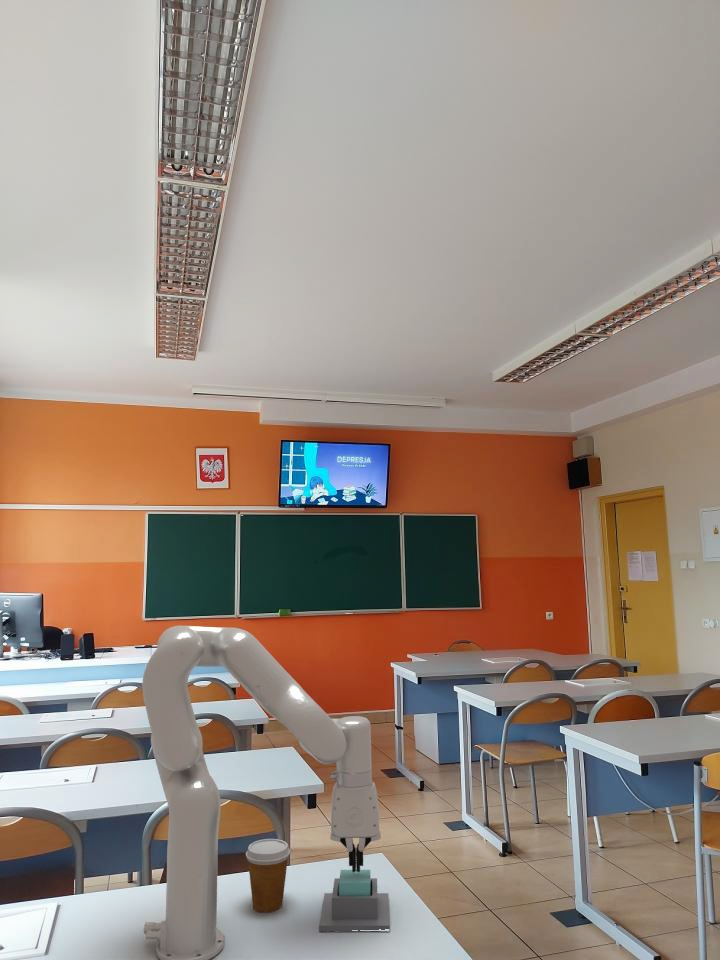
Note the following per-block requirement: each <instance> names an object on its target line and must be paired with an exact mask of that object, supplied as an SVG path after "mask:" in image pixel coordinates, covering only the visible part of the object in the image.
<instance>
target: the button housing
mask: <svg viewBox="0 0 720 960" xmlns="http://www.w3.org/2000/svg"><path fill="white" fill-rule="evenodd" d="M339 879H340V877H339V878H338V877H337V878H336V877H335V878H334V881H333V887H332V893H331V892H330V893H329V892H327V893H326V892H325V893H324V892H323V893H324V894H323V899H322V906H321V910H320V911H321V912H320V918H319V924H318V932H319V933H322V932H321V931H326V932H325V933H329V932H328V931H352V930H358V931H360V930H379V929H381V930H385V929H391V928H390V927H391V926H390V904H389V903H390V902H389V900H390V899H389V893H387V892H386V893H385V892H378V878H374V877H373V878H372V877H371V896H339Z"/></svg>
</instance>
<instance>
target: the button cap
mask: <svg viewBox="0 0 720 960" xmlns="http://www.w3.org/2000/svg"><path fill="white" fill-rule="evenodd" d="M339 878H340V879H339V896H371V878H372V877H371V869H360V872H357V871H355V872H352V869H340V872H339Z"/></svg>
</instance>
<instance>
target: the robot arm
mask: <svg viewBox="0 0 720 960" xmlns="http://www.w3.org/2000/svg"><path fill="white" fill-rule="evenodd" d="M196 667H205V668H206V667H208V668H209V667H214V668H217V667H218V668H219V667H220V668H221V667H222V668H223V667H224V668H225V670H226V671H227V672H228V673H229V675H231V676H232V677H233V678H234V679H235V681H236V682H238V683H239V684H240V686H241V687H242V688H243V689H244V690H245V691H246V692H247V693H248V695H250V696H251V697H252V699H254V700H255V701H256V703H257V704H258V705H259V707H261V708H262V709H263V710H264V711H265V712H266V713H267V714H269V716H271V717H273V718H274V719H275V720H277V721H278V722H279V723H280V724H282V725H283V726H284V727H285V728H286V729H287V730H288V731H289V732H290V733H291V734H292V736H293V735H294V737H295V738H296V739H297V741H298V743H299V745H300V747H301V749H303V751H305V752H306V753H307V754H308V755H310V756H311V757H313V758H314V759H315V760H316V761H317V762H319V763H320V764H322V765H332V764H333V765H334V764H336V770H334V771H333V772H330V773H329V779H330V780H334V781H335V783H334V785H333V788H332V792H331V793H332V794H331V802H330V808H331V809H330V832H331V833H330V840H331V841H333V842H337V843H341V845H342V846H344V847H345V848H346V850H347V852H348V866H349V867H351V868H352V869H351V870H352V872H355V871H357V872H360V870H361V867H364V851H365V849H366V848H367V846H368V845H369V844H370V843H372V842H376V841H379V840H381V837H382V834H381V830H380V812H379V811H380V810H379V797H378V791H377V790H378V789H377V787H376V783H375V782H374V781H373V774H372V773H373V772H372V771H373V768H372V767H373V766H372V765H373V764H372V727H371V721H370V720H369V719H368V718H367V717H365V716H361V715H348V716H344V717H340V718H331V717H330V716H329V715H328V713H327V712H325V711H324V709H323V708H322V707H321V706H320V705H319V704H318V703H317V702H316V701H315V700H314V699H313V698H312V696H310V695H309V694H308V693H307V691H305V690H304V689H303V687H302V686H301V685H300V684H299V683H298V682H297V681H296V680H295V679H294V678H293V677H292V675H291V674H290V673H289V672H287V671H286V670H285V668H284V667H283V666H282V665H281V664H280V662H278V661H277V660H276V659H275V657H273V655H272V654H271V653H270V652H269V651H268V650H267V648H265V646H264V645H263V644H262V643H261V642H260V641H259V639H257V638H256V636H254V635H253V634H252V633H251V632H249V631H247V630H246V629H242V628H238V627H225V626H224V627H220V626H219V627H215V626H197V625H196V626H194V625H174V626H171V627H168V628H167V629H165V630H164V631H163V633H162V634H161V635H160V636H159V638H158V641H157V646H156V649H155V651H153V653H152V655H151V656H150V658H149V660H148V661H147V665H146V666H145V670H144V671H143V676H142V683H141V684H142V685H141V686H142V687H141V688H142V695H143V703H144V707H145V711H146V715H147V719H148V724H149V727H150V732H151V734H150V744H151V749H152V753H153V757H154V760H155V765H156V767H157V771H158V775H159V780H160V781H161V786H162V789H163V792H164V796H165V799H166V802H167V803H166V804H167V806H168V834H167V837H168V838H167V851H166V852H167V853H166V892H165V894H166V895H165V897H166V899H165V901H166V902H165V920H161V921H160V922H156V921H155V922H154V921H153V922H145V923H144V925H143V926H144V927H143V934H144V935H145V940H157V943H156V946H155V947H156V948H155V950H156V951H155V953H156V956H157V958H158V959H159V960H211V959H212V958H214V957H215V956H217V955H218V954H220V952H221V951H222V950H223V948H224V946H225V935H224V932H222V930H220V929H219V928H217V920H218V919H217V915H218V913H217V912H218V911H217V909H218V905H217V903H218V864H219V863H218V848H219V846H218V844H219V826H220V820H221V819H220V817H221V809H222V808H221V805H222V803H221V796H220V795H221V794H220V791H219V788H218V786H217V784H216V782H215V780H214V778H213V777H212V776H211V775H210V772H209V769H208V766H207V762H206V759H205V754H204V752H203V745H204V743H203V735H202V731H201V730H200V727H199V725H198V723H197V720H196V719H197V718H196V715H195V712H194V709H193V706H192V701H191V696H190V692H189V688H188V686H189V685H188V682H189V678H190V675H191V673H192V671H193V670H194V669H195V668H196ZM356 838H357V839H358V844H357V845H355V844H354V840H353V839H356ZM356 846H357V847H356Z"/></svg>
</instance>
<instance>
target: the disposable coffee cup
mask: <svg viewBox="0 0 720 960" xmlns="http://www.w3.org/2000/svg"><path fill="white" fill-rule="evenodd" d="M290 854H291V850H290V848H289V844H288V843H287V842H286V841H284V840H283V839H282V840H281V839H278V838H264V839H259V840H256V841H254V842H252V843H250V844H249V845H248V848H247V851H246V852H245V857H246V860H247V861H248V873H249V880H250V881H249V882H250V891H251V892H250V893H251V903H252V908H253V910H254V911H257V912H259V913H267V914H268V913H273V912H276V911H278V910H280V909H281V908H282V907H283V903H284V896H285V895H284V893H285V887H286V886H285V885H286V877H287V876H286V875H287V869H288V868H287V867H288V860H289V856H290Z"/></svg>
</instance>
